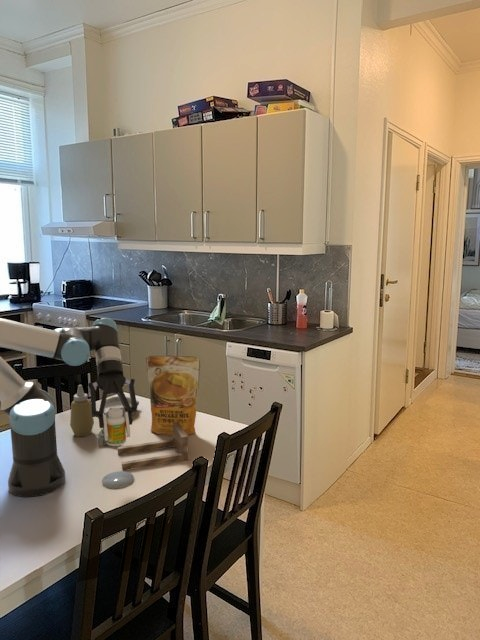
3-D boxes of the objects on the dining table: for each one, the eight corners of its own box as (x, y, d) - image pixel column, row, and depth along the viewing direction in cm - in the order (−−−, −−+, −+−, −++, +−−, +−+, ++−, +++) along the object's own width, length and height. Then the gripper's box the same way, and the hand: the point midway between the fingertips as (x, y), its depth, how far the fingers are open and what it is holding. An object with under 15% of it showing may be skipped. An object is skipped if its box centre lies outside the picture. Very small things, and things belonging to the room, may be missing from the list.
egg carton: (115, 447, 166) (115, 435, 165) (94, 445, 167) (93, 434, 166) (126, 434, 176) (126, 423, 175) (106, 432, 177) (106, 422, 176)
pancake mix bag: (150, 426, 182) (148, 353, 177) (201, 429, 181) (200, 355, 175) (145, 434, 176) (142, 358, 170) (197, 436, 174) (197, 360, 169)
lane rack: (122, 470, 150) (121, 445, 148) (117, 452, 161) (116, 429, 160) (188, 459, 157) (187, 436, 155) (179, 443, 168) (178, 421, 167)
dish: (118, 422, 186) (118, 410, 185) (93, 415, 194) (93, 403, 193) (145, 411, 198) (145, 399, 197) (121, 404, 205) (121, 393, 204)
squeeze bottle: (94, 427, 181) (91, 380, 178) (94, 436, 173) (92, 387, 170) (70, 430, 178) (68, 382, 175) (70, 439, 171) (67, 390, 167)
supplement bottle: (113, 448, 138) (112, 415, 136) (103, 442, 142) (101, 410, 140) (129, 442, 142) (128, 410, 140) (119, 436, 145) (118, 405, 144)
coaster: (103, 490, 138) (103, 489, 138) (100, 475, 146) (100, 474, 146) (135, 485, 141) (135, 483, 141) (131, 470, 149) (131, 469, 149)
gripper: (138, 368, 156) (149, 437, 144) (77, 373, 149) (83, 446, 137) (141, 356, 150) (152, 427, 138) (77, 360, 143) (83, 435, 131)
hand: (117, 436), depth 138 cm, fingers closed on supplement bottle, 5 cm apart
